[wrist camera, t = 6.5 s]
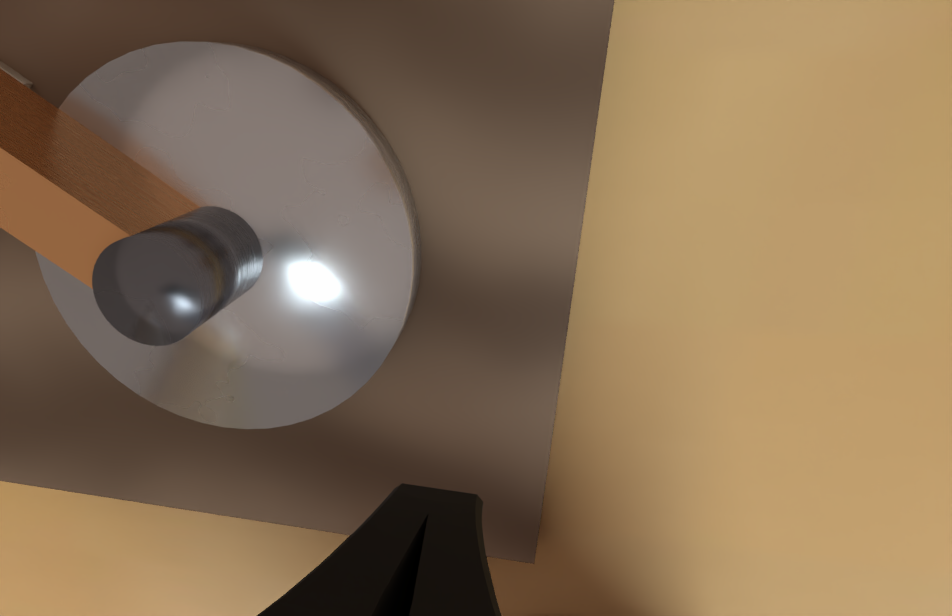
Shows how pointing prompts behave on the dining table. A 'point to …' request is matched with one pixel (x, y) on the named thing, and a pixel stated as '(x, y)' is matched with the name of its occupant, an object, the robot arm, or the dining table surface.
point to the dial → (215, 228)
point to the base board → (440, 283)
